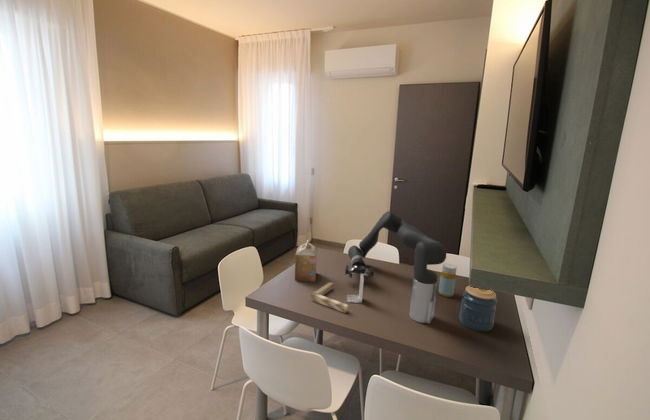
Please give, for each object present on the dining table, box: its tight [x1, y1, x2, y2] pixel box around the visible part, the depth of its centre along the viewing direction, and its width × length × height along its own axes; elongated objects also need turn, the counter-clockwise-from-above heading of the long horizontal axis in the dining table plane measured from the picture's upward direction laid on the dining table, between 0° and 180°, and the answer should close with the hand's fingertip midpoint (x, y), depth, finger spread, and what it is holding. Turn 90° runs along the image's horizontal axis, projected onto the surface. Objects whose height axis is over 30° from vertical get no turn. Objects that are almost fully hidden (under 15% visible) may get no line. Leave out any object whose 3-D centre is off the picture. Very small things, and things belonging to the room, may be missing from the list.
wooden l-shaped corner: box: [310, 281, 349, 314], centre depth 143 cm, size 18×16×3 cm
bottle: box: [438, 263, 457, 298], centre depth 152 cm, size 7×7×15 cm
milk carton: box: [294, 239, 318, 282], centre depth 164 cm, size 11×11×19 cm
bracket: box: [346, 274, 365, 304], centre depth 142 cm, size 7×5×12 cm
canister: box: [458, 285, 499, 332], centre depth 128 cm, size 13×13×18 cm
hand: (360, 276), depth 152 cm, fingers open, 8 cm apart
